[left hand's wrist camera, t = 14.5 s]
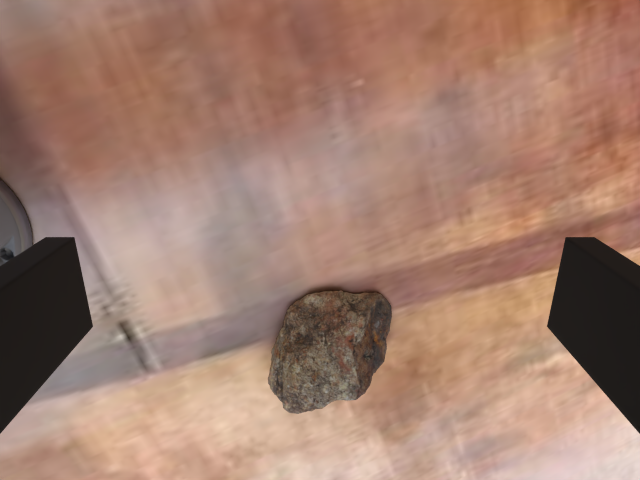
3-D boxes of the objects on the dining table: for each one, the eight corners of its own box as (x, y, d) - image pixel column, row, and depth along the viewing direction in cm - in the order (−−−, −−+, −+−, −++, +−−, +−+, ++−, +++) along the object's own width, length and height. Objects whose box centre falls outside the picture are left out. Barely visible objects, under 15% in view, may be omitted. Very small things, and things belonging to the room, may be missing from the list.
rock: (392, 352, 54) (386, 276, 50) (412, 402, 46) (406, 316, 42) (271, 371, 53) (255, 296, 50) (269, 425, 45) (250, 340, 42)
